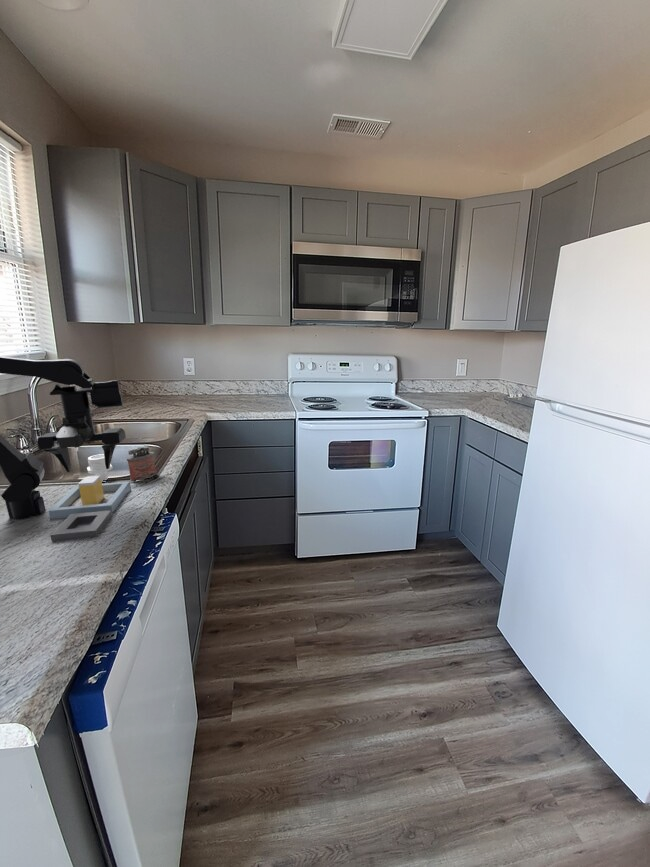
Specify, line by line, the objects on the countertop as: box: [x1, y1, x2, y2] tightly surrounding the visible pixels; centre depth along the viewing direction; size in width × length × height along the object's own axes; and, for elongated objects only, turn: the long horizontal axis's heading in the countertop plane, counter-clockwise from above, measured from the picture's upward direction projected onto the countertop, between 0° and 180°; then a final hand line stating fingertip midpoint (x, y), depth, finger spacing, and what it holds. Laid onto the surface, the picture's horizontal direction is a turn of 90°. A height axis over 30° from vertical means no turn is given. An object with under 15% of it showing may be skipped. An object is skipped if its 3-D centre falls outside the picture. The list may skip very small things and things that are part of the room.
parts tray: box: [48, 480, 132, 519], centre depth 105 cm, size 14×16×3 cm
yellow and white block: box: [77, 475, 105, 505], centre depth 104 cm, size 4×5×6 cm
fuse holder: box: [50, 510, 113, 542], centre depth 91 cm, size 9×10×2 cm
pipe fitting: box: [86, 453, 113, 481], centre depth 121 cm, size 6×7×8 cm
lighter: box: [126, 446, 157, 481], centre depth 122 cm, size 8×3×10 cm, turn 141°
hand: (88, 470), depth 103 cm, fingers open, 9 cm apart
